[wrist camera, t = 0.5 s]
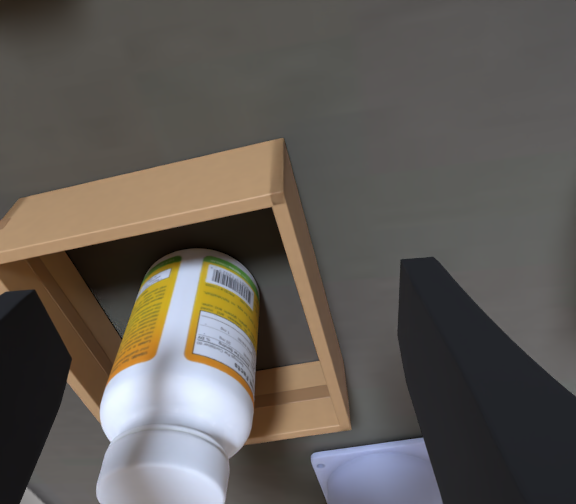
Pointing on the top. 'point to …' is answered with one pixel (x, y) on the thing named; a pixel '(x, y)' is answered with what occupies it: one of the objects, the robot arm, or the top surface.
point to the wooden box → (164, 215)
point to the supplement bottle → (181, 383)
